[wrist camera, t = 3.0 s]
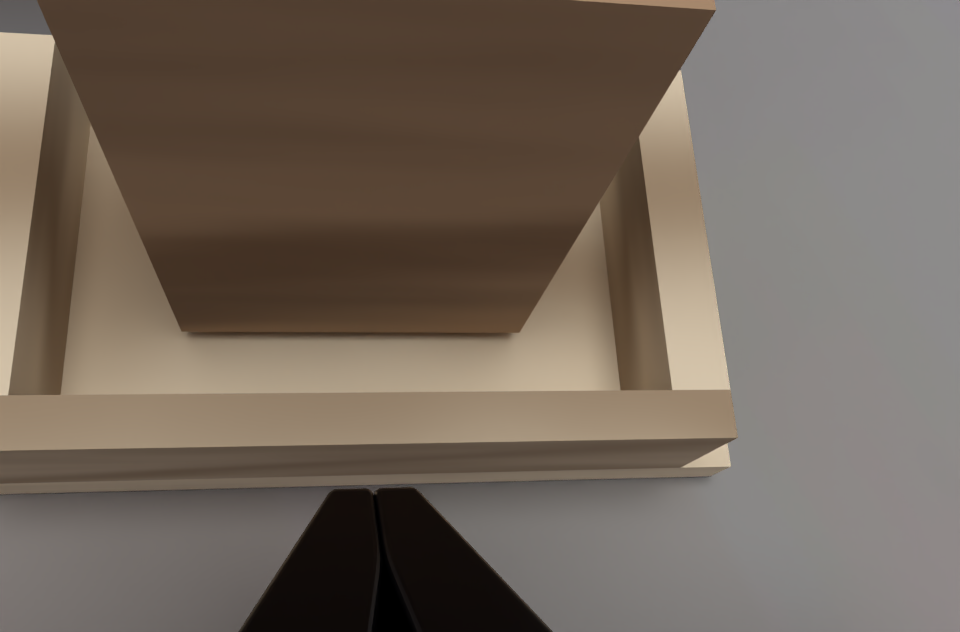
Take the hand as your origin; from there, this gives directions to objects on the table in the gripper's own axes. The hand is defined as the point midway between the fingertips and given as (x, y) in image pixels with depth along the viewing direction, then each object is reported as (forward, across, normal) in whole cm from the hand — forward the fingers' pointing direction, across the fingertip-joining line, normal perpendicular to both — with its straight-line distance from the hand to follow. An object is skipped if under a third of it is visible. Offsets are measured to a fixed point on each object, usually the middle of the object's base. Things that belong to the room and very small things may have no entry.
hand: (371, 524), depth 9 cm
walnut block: (+9, 0, 0) cm, 9 cm away
